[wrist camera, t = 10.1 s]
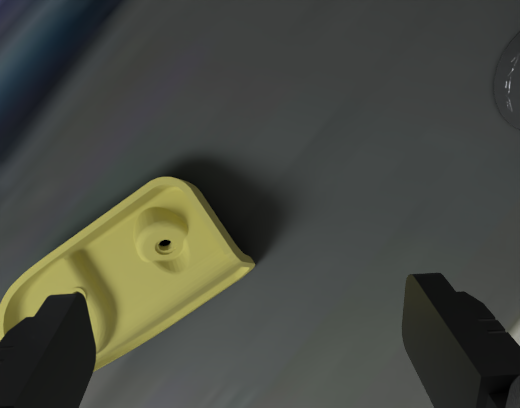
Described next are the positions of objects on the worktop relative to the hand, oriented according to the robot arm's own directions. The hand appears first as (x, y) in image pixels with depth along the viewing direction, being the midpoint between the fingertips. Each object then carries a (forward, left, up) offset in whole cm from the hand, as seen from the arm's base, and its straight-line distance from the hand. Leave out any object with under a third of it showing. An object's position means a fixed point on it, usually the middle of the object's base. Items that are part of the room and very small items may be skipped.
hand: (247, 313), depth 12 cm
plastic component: (+10, +13, -27) cm, 32 cm away
